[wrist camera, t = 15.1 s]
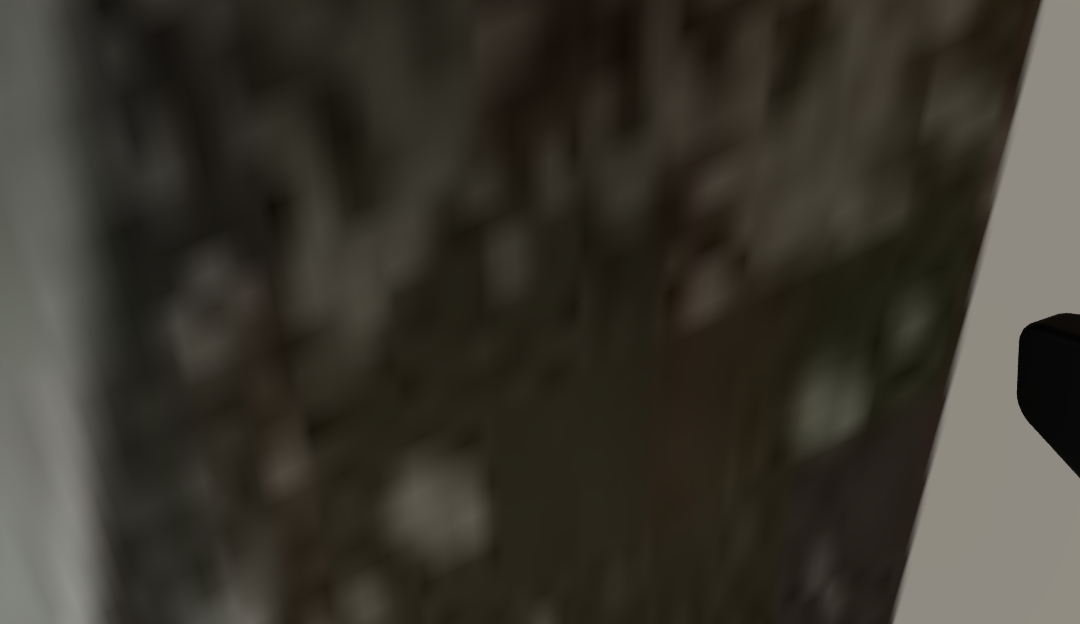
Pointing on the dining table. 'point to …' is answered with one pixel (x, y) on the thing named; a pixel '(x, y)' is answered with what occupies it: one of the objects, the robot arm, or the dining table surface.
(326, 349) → the dining table surface
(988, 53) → the dining table surface
